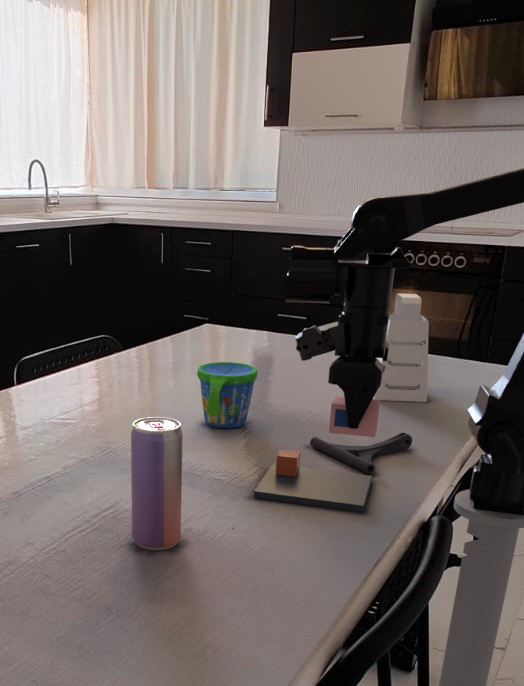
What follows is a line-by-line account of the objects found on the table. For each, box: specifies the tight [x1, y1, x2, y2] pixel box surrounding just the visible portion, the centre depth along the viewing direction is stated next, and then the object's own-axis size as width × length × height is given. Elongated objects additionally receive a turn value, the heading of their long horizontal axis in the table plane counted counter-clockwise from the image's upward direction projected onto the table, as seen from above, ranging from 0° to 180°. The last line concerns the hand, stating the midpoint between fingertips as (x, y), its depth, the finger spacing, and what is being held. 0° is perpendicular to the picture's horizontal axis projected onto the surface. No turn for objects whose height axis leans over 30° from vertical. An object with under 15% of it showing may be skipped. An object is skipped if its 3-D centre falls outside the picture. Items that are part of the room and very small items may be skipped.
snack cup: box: [196, 361, 258, 429], centre depth 138 cm, size 16×10×10 cm
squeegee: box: [309, 432, 413, 475], centre depth 125 cm, size 14×15×3 cm
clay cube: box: [275, 449, 302, 477], centre depth 113 cm, size 3×3×3 cm
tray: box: [253, 463, 373, 513], centre depth 110 cm, size 15×12×1 cm
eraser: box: [328, 396, 381, 438], centre depth 103 cm, size 6×4×4 cm
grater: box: [372, 293, 430, 403], centre depth 156 cm, size 10×10×20 cm
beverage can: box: [130, 416, 184, 552], centre depth 91 cm, size 6×6×15 cm
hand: (354, 423), depth 103 cm, fingers closed on eraser, 4 cm apart
